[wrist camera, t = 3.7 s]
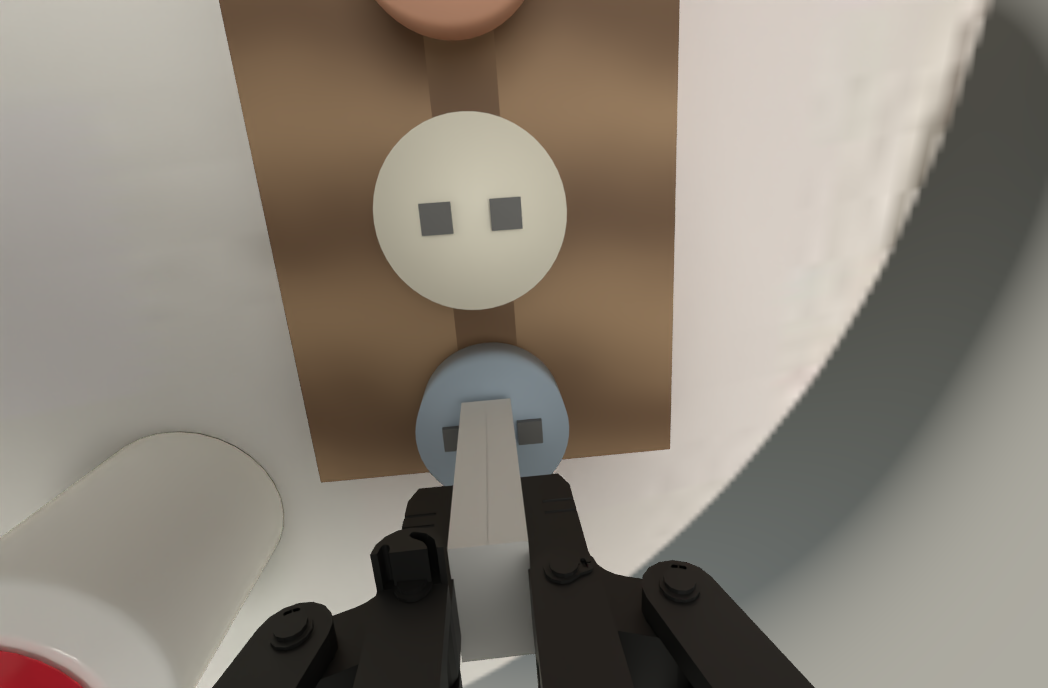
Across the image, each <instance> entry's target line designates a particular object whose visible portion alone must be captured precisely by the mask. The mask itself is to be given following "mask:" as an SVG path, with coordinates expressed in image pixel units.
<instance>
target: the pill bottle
mask: <svg viewBox="0 0 1048 688" xmlns="http://www.w3.org/2000/svg"><path fill="white" fill-rule="evenodd" d="M283 515H284V512H283V507H282V503H281V498H280V495H279V493H278V491H277V489H276V487H275V485H274V483H273V481H272V480H271V478H270V477H269V476H268V474H267V473H266V472H265V470H264V469H263V468H262V467H261V466H260V465H259V464H258V463H257V462H256V461H254V460H253V459H252V458H251V457H250V456H249V455H247V454H246V453H244V452H242V451H241V450H239V449H238V448H236V447H235V446H233V445H230V444H228V443H226V442H224V441H221V440H219V439H217V438H213V437H209V436H205V435H201V434H197V433H186V432H170V433H159V434H155V435H151V436H147V437H144V438H141V439H139V440H137V441H135V442H133V443H131V444H129V445H127V446H125V447H124V448H122V449H121V450H119V451H118V452H117V453H115V454H114V455H113V456H111V457H110V458H109V459H107V460H106V461H104V462H103V463H102V464H100V465H99V466H98V467H96V468H95V469H94V470H92V471H91V472H89V473H88V474H87V475H85V476H84V477H83V478H81V479H80V480H78V481H77V482H76V483H74V484H73V485H72V486H70V487H69V488H68V489H66V490H65V491H63V492H62V493H61V494H59V495H58V496H57V497H55V498H54V499H53V500H51V501H50V502H48V503H47V504H46V505H44V506H43V507H42V508H40V509H39V510H37V511H36V512H35V513H33V514H32V515H31V516H29V517H28V518H27V519H25V520H24V521H22V522H21V523H20V524H18V525H17V526H16V527H14V528H13V529H12V530H10V531H9V532H7V533H6V534H5V535H3V536H2V537H1V538H0V688H195V687H196V686H197V684H198V682H199V680H200V679H201V677H202V675H203V673H204V672H205V670H206V668H207V667H208V665H209V663H210V661H211V660H212V658H213V656H214V654H215V653H216V651H217V649H218V647H219V646H220V644H221V642H222V640H223V639H224V637H225V635H226V633H227V632H228V630H229V628H230V627H231V625H232V623H233V621H234V620H235V618H236V616H237V614H238V613H239V611H240V609H241V607H242V606H243V604H244V602H245V600H246V599H247V597H248V595H249V593H250V592H251V590H252V588H253V587H254V585H255V583H256V581H257V580H258V578H259V576H260V574H261V573H262V571H263V569H264V567H265V566H266V564H267V562H268V560H269V559H270V557H271V555H272V553H273V552H274V550H275V548H276V546H277V544H278V542H279V540H280V537H281V533H282V529H283Z"/></svg>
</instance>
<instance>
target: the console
mask: <svg viewBox="0 0 1048 688" xmlns="http://www.w3.org/2000/svg"><path fill="white" fill-rule="evenodd" d="M219 3H220V8H221V12H222V17H223V22H224V27H225V31H226V36H227V41H228V46H229V50H230V55H231V60H232V64H233V69H234V74H235V79H236V83H237V88H238V93H239V98H240V102H241V107H242V112H243V116H244V121H245V126H246V131H247V135H248V140H249V145H250V149H251V154H252V159H253V164H254V168H255V173H256V178H257V183H258V187H259V192H260V197H261V201H262V206H263V211H264V216H265V220H266V225H267V230H268V235H269V239H270V244H271V249H272V253H273V258H274V263H275V268H276V272H277V277H278V282H279V287H280V291H281V296H282V301H283V305H284V310H285V315H286V320H287V324H288V329H289V334H290V338H291V343H292V348H293V353H294V357H295V362H296V367H297V372H298V376H299V381H300V386H301V390H302V395H303V400H304V405H305V409H306V414H307V419H308V424H309V428H310V433H311V438H312V442H313V447H314V452H315V457H316V461H317V466H318V471H319V476H320V480H321V482H332V481H342V480H352V479H363V478H373V477H384V476H394V475H404V474H415V473H425V472H429V470H428V469H427V467H426V466H425V464H424V462H423V461H422V459H421V456H420V454H419V451H418V447H417V443H416V433H415V431H416V421H417V417H418V412H419V409H420V406H421V402H422V399H423V395H424V392H425V389H426V386H427V383H428V381H429V379H430V377H431V376H432V374H433V372H434V371H435V370H436V369H437V367H438V366H439V365H440V364H441V363H442V362H443V361H444V360H445V359H447V358H448V357H449V356H450V355H452V354H454V353H455V352H457V351H459V350H461V349H463V348H466V347H468V346H472V345H475V344H481V343H493V342H496V343H505V344H510V345H514V346H517V347H519V348H522V349H524V350H526V351H528V352H530V353H531V354H533V355H534V356H536V357H537V358H538V359H539V360H541V361H542V362H543V363H544V364H545V365H546V367H547V368H548V369H549V370H550V372H551V374H552V375H553V377H554V379H555V381H556V383H557V386H558V388H559V391H560V394H561V397H562V400H563V402H564V405H565V408H566V412H567V415H568V421H569V438H568V444H567V447H566V450H565V453H564V455H563V458H562V459H571V458H581V457H592V456H602V455H612V454H623V453H633V452H644V451H654V450H664V449H670V424H671V377H672V329H673V282H674V235H675V188H676V140H677V93H678V46H679V0H524V1H523V3H522V4H521V6H520V7H519V8H518V9H517V10H516V11H515V13H514V14H513V15H512V16H511V17H510V18H508V19H507V20H506V21H505V22H504V23H503V24H501V25H500V26H498V27H497V28H495V29H493V30H492V31H490V32H488V33H485V34H483V35H481V36H478V37H474V38H471V39H465V40H457V41H456V40H440V39H434V38H430V37H427V36H424V35H421V34H418V33H416V32H414V31H412V30H410V29H408V28H406V27H405V26H403V25H402V24H400V23H399V22H397V21H396V20H395V19H394V18H392V17H391V16H390V15H389V14H388V13H387V12H386V11H385V10H384V9H383V8H382V7H381V6H380V5H379V4H378V3H377V1H376V0H219ZM460 111H476V112H482V113H489V114H492V115H495V116H499V117H502V118H504V119H506V120H508V121H510V122H513V123H514V124H516V125H518V126H519V127H521V128H522V129H524V130H525V131H527V132H528V133H529V134H530V135H531V136H533V137H534V138H535V139H536V140H537V141H538V142H539V143H540V145H541V146H542V147H543V148H544V149H545V150H546V152H547V153H548V155H549V156H550V158H551V159H552V161H553V163H554V165H555V166H556V168H557V170H558V173H559V175H560V178H561V181H562V183H563V188H564V192H565V196H566V206H567V222H566V229H565V235H564V239H563V242H562V246H561V248H560V251H559V253H558V255H557V258H556V260H555V261H554V263H553V265H552V266H551V268H550V269H549V271H548V272H547V273H546V275H545V276H544V277H543V278H542V279H541V280H540V281H539V282H538V283H537V284H536V285H535V286H534V287H533V288H532V289H531V290H529V291H528V292H527V293H526V294H524V295H522V296H521V297H519V298H517V299H515V300H514V301H511V302H509V303H506V304H504V305H501V306H497V307H494V308H488V309H482V310H464V309H456V308H451V307H447V306H444V305H441V304H438V303H436V302H433V301H431V300H429V299H427V298H425V297H423V296H422V295H420V294H419V293H417V292H416V291H414V290H413V289H412V288H411V287H409V286H408V285H407V284H406V283H405V282H404V281H403V280H402V279H401V278H400V277H399V276H398V275H397V273H396V272H395V271H394V270H393V268H392V267H391V265H390V264H389V262H388V261H387V259H386V257H385V255H384V253H383V251H382V249H381V247H380V244H379V241H378V238H377V235H376V230H375V226H374V218H373V196H374V191H375V185H376V181H377V178H378V175H379V172H380V170H381V167H382V165H383V163H384V161H385V159H386V158H387V156H388V155H389V153H390V151H391V150H392V148H393V147H394V146H395V145H396V144H397V143H398V142H399V140H400V139H401V138H402V137H403V136H405V135H406V134H407V133H408V132H409V131H410V130H412V129H413V128H415V127H416V126H418V125H419V124H421V123H423V122H425V121H427V120H429V119H431V118H433V117H436V116H439V115H443V114H446V113H452V112H460Z"/></svg>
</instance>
